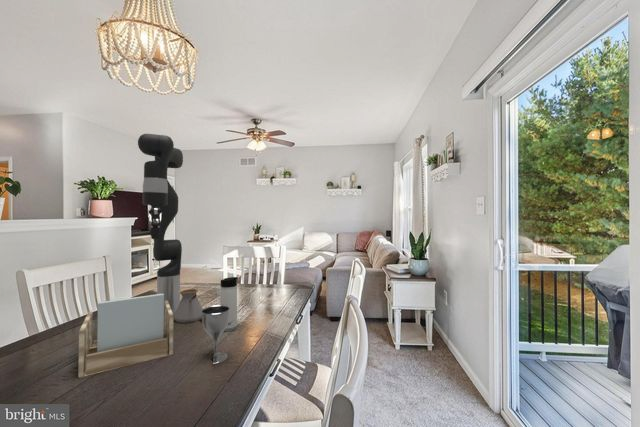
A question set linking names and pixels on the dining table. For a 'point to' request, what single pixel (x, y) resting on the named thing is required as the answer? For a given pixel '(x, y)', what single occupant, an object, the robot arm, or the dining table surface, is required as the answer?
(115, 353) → the rack
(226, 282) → the travel mug
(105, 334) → the blue-grey flat rectangular block
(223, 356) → the wine glass
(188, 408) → the dining table surface
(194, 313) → the coffee pot
